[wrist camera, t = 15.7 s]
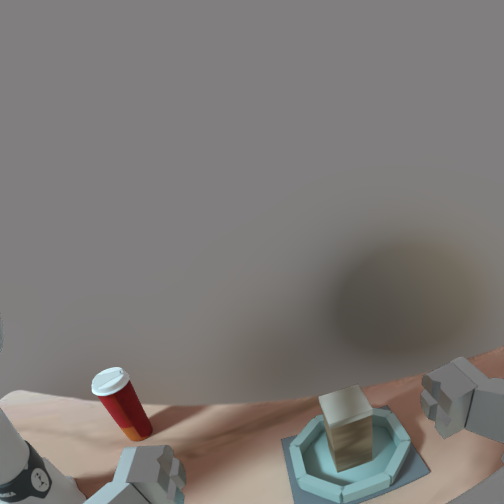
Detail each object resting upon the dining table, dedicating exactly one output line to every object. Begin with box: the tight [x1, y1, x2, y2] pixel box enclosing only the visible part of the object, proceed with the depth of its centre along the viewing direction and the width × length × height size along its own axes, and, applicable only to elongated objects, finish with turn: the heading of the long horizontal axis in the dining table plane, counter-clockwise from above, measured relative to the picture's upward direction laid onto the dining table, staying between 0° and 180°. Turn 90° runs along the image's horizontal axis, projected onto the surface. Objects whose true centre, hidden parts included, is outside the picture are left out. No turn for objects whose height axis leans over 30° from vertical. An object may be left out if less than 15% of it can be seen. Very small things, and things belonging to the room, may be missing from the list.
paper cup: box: [92, 367, 152, 441], centre depth 49 cm, size 8×8×14 cm
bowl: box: [289, 407, 411, 503], centre depth 35 cm, size 16×16×3 cm
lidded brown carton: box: [318, 384, 373, 473], centre depth 33 cm, size 5×5×11 cm
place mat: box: [281, 405, 430, 504], centre depth 35 cm, size 18×16×1 cm
